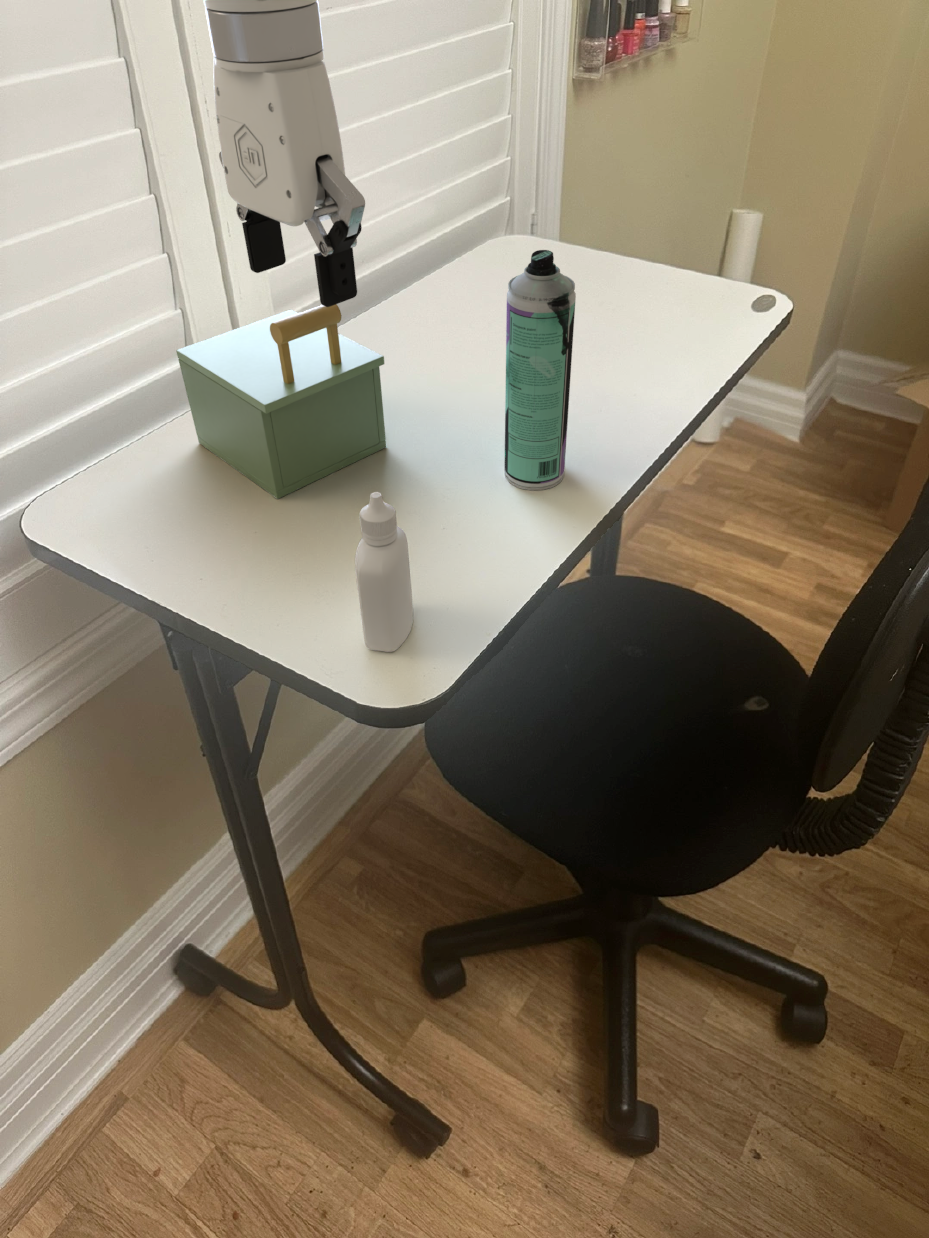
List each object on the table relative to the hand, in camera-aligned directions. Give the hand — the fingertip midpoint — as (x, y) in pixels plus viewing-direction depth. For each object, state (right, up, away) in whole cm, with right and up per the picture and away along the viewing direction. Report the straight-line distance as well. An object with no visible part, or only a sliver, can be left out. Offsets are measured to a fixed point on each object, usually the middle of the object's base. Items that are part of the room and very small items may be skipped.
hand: (302, 284), depth 73 cm
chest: (-4, -10, +14) cm, 18 cm away
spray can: (+19, -14, +10) cm, 26 cm away
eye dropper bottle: (+7, -28, -5) cm, 29 cm away
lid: (-4, -4, +8) cm, 10 cm away
